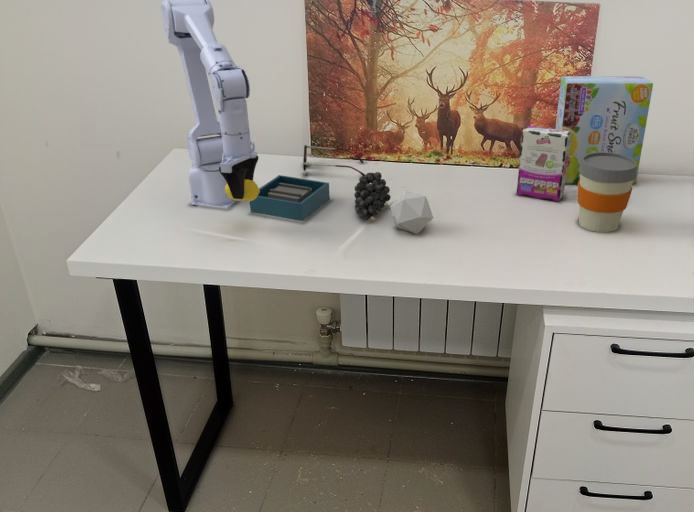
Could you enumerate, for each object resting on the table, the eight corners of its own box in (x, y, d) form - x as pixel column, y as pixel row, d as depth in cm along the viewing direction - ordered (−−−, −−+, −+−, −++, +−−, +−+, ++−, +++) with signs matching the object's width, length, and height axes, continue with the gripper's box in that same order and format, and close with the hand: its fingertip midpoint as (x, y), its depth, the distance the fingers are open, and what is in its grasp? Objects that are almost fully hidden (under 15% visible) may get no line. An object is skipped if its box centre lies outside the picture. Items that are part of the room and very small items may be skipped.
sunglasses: (304, 161, 200) (304, 143, 197) (362, 164, 202) (363, 146, 199) (303, 179, 188) (303, 160, 186) (365, 182, 191) (366, 163, 188)
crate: (250, 214, 169) (248, 195, 167) (280, 192, 181) (279, 174, 178) (302, 223, 166) (301, 204, 163) (329, 200, 177) (329, 182, 174)
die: (439, 231, 165) (430, 188, 166) (429, 226, 157) (419, 181, 157) (404, 241, 168) (395, 199, 168) (392, 237, 159) (382, 192, 159)
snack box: (627, 173, 198) (646, 75, 184) (636, 185, 191) (656, 83, 176) (548, 172, 197) (560, 73, 183) (554, 184, 190) (567, 82, 176)
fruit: (370, 188, 160) (386, 164, 172) (336, 196, 163) (354, 171, 175) (382, 223, 164) (397, 197, 176) (349, 231, 167) (366, 204, 179)
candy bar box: (563, 195, 184) (572, 130, 174) (559, 202, 180) (568, 136, 171) (520, 188, 187) (527, 124, 178) (515, 195, 183) (522, 129, 174)
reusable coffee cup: (591, 209, 177) (601, 148, 168) (636, 225, 169) (649, 162, 161) (560, 223, 169) (569, 160, 161) (606, 240, 162) (618, 175, 153)
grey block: (268, 207, 171) (267, 191, 169) (283, 197, 177) (281, 181, 174) (299, 213, 169) (298, 196, 167) (312, 202, 174) (311, 185, 172)
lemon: (222, 202, 157) (219, 182, 154) (230, 194, 160) (227, 174, 158) (257, 205, 156) (254, 185, 153) (264, 197, 160) (262, 177, 157)
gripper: (241, 143, 143) (248, 208, 151) (265, 122, 155) (271, 183, 163) (207, 140, 144) (216, 205, 152) (234, 120, 156) (241, 181, 164)
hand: (242, 194), depth 157 cm, fingers closed on lemon, 4 cm apart
